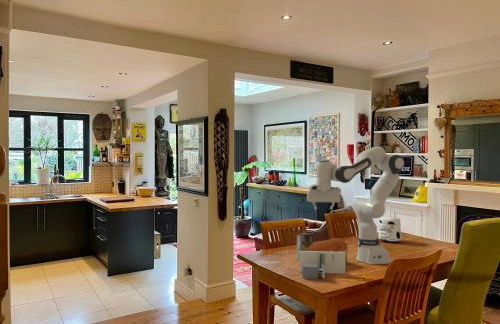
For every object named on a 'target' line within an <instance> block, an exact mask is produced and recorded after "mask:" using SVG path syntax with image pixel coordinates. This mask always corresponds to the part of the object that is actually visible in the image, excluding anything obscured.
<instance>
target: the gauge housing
mask: <svg viewBox="0 0 500 324" xmlns="http://www.w3.org/2000/svg"><path fill="white" fill-rule="evenodd" d="M320 254H322V263H323V264H324V266H325V274H343V275H345V274H346V264H345V252H322V251H300V259H299V273H301V276H302V279H304V280H305V279H306V280H307V279H308V280H318V277H319V275H318V274H321V273H320V272H318V269H320ZM302 269H303V271H302Z"/></svg>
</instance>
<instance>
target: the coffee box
mask: <svg viewBox="0 0 500 324" xmlns="http://www.w3.org/2000/svg"><path fill="white" fill-rule="evenodd" d="M313 243H314V234H313V233H310V232H303V233H302V232H299V233H296V258H297V259H298V260H300V251H307V250H308V247H309V246H310V245H311V244H313Z"/></svg>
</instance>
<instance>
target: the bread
mask: <svg viewBox="0 0 500 324" xmlns="http://www.w3.org/2000/svg"><path fill="white" fill-rule="evenodd" d="M307 251H322V252H345V265H346V264H348V252H349V248H348V245H347V243H346V242H345V241H344V240H343V239H341V238H337V237H332V238H330V239H325V240H321V241H313V244H311V245H310V246H309V247H308V250H307Z"/></svg>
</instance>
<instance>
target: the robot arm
mask: <svg viewBox="0 0 500 324" xmlns="http://www.w3.org/2000/svg"><path fill="white" fill-rule="evenodd" d="M373 166H374V168H376V169H377V170H380V171H382V174H381V175H380V177H379V178H378V180H377V181H376V182H375V183H374V185H373V186H372V188H371V190H370V191H371V194H370V196H369V198H368V199H366V198H357V199H354V201H353V203H352V210H353V211H354V213H355V216H356V219H357V223H358V237H357V254H356V257H355V260H356V261H358V262H360V263H365V264H367V265H368V264H369V265H382V264H383V265H384V264H386V265H387V264H390V262H391V261H393V262H394V260H393V259H392V258H391V257H390V252H389V251H388V250H387V249H386V248H385V247H384V246H383V245H381V244H383V241H382V240H380V239H379V238H378V227H377V225H376V223H375V221H374V219H380V218H381V217H384V215H385V213H386V208H385V203H386V202H387V199H388V198H389V196H390V194H391V193H392V192H393V190H394V189H395V187H396V185H397V184H398V182H399V180H400V176H399V174H400V173H401V172H402V170H403V169H404V167H405V159H404V157H403V156H401V155H399V154H393V153H386V150H385V149H384V148H383V147H382V146H374V147H371V148H368V149H365V150H363V151H362V152H360V153H359V154H357V156H356V162H355V163H353V164H351V165H336V164H335V163H333V162H332V161H330V160H329V159H324V160H320V161H318V163H317V164H316V181H315V184H312V185H311V184H310V185H309V187H308V190H307V195H306V201H307V202H308V203H312V205H313V206H314V208H313V209H314V210H317V209H318V207H317V205H315V204H316V203H331V204H332V205H331V206H329V210H331V211H332V210H333V208H334V206H335V203H340V202H341V193H342V189H341V187H339V186H332V181H333V182H339V183H343V184H347V183H350V182H351V181H352V180H353V179H354V178H355V177H356V176H357V175H359V174H361V173H362V172H364V171H366V170H368V169H369V168H372V167H373Z"/></svg>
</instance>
